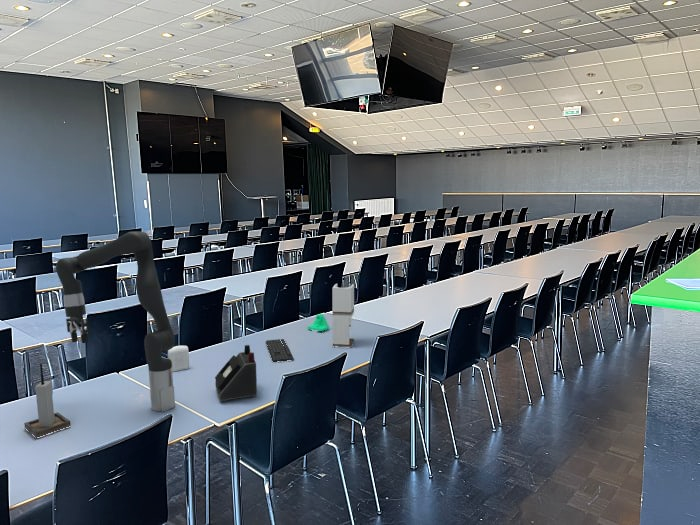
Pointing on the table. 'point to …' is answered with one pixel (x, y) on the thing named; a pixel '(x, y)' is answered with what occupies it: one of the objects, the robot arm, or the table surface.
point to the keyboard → (279, 350)
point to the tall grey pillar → (342, 315)
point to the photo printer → (179, 357)
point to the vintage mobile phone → (45, 402)
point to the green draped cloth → (319, 323)
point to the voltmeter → (237, 377)
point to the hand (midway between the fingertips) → (79, 342)
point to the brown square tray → (40, 431)
